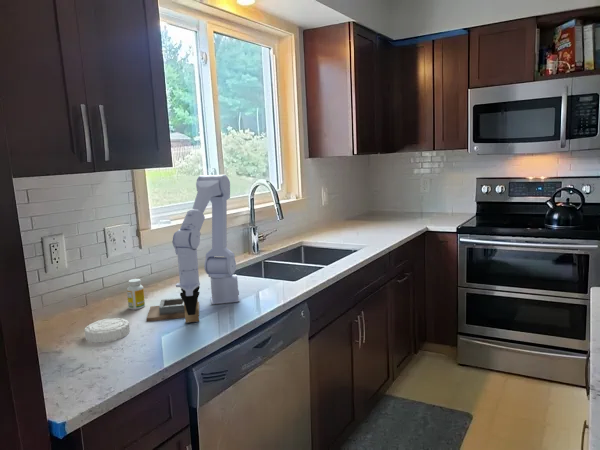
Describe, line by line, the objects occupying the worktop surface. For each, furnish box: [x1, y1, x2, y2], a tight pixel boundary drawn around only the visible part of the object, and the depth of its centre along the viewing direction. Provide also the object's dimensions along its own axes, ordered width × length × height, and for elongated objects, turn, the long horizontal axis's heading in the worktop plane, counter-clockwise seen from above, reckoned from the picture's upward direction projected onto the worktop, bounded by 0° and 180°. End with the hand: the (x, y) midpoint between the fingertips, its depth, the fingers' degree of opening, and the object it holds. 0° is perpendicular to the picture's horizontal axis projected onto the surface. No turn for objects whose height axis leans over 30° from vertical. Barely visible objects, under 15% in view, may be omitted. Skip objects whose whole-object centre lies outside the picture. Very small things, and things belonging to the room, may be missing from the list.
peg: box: [184, 298, 200, 323], centre depth 142 cm, size 4×4×8 cm
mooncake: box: [83, 317, 131, 344], centre depth 135 cm, size 12×12×4 cm
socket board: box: [146, 297, 200, 322], centre depth 152 cm, size 16×12×4 cm
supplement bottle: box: [126, 278, 146, 310], centre depth 158 cm, size 5×5×10 cm
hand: (191, 312), depth 142 cm, fingers closed on peg, 4 cm apart
